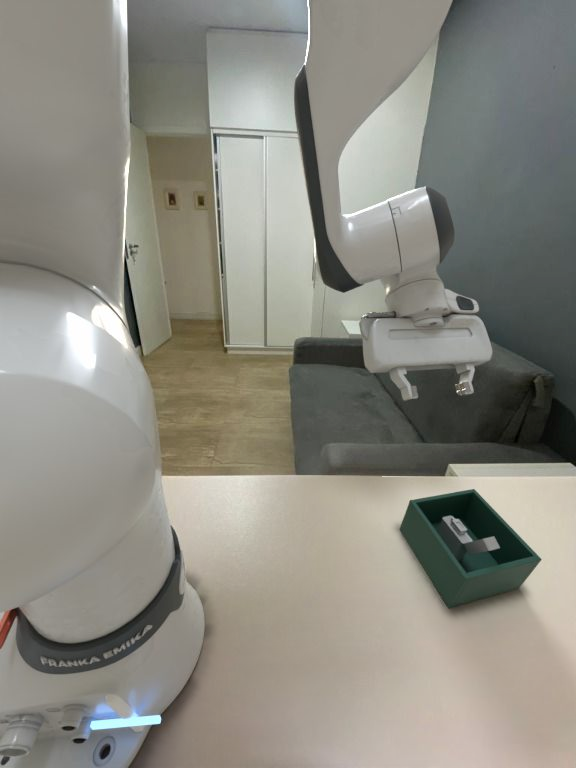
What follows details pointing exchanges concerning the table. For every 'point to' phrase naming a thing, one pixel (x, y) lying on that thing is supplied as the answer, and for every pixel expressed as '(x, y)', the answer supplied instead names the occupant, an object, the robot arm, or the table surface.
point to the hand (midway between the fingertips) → (439, 397)
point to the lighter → (462, 539)
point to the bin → (476, 570)
